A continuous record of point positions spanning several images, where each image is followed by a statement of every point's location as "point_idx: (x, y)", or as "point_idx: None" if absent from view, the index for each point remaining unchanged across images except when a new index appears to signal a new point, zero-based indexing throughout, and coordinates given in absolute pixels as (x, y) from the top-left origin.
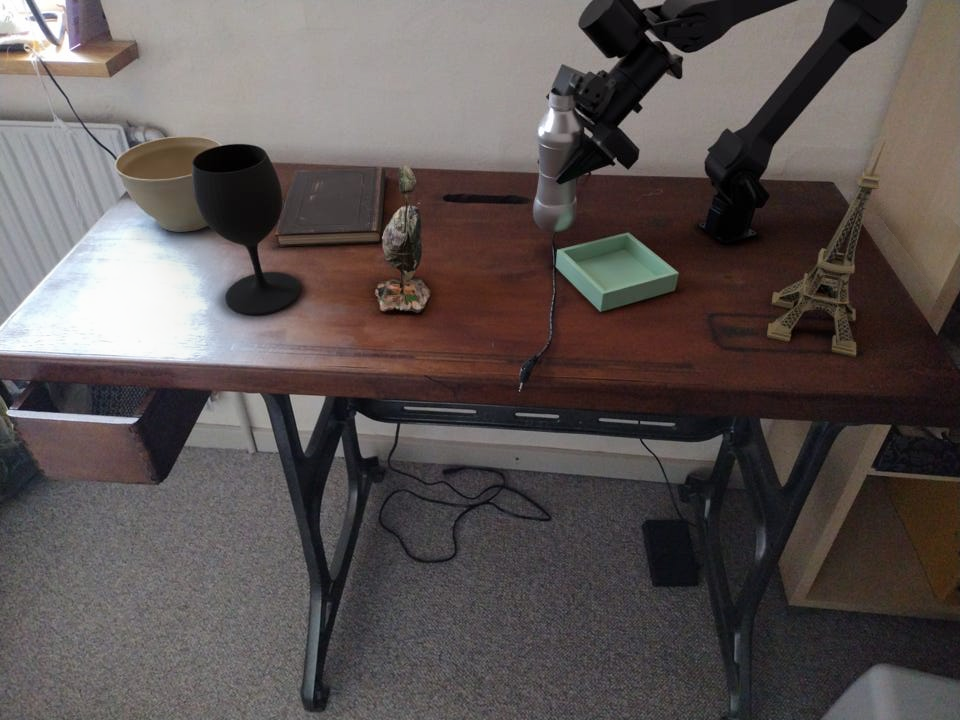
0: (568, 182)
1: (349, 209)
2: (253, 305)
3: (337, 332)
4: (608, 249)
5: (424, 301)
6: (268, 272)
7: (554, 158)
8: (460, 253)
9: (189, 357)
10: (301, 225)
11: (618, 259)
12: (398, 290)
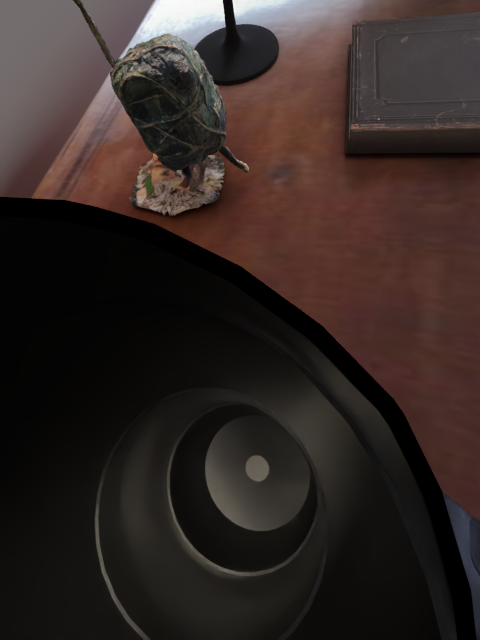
0: (127, 526)
1: (438, 89)
2: (204, 47)
3: (134, 125)
4: None
5: (152, 207)
6: (275, 47)
7: (31, 429)
8: (291, 272)
9: (143, 28)
10: (379, 42)
11: None
12: (156, 162)
